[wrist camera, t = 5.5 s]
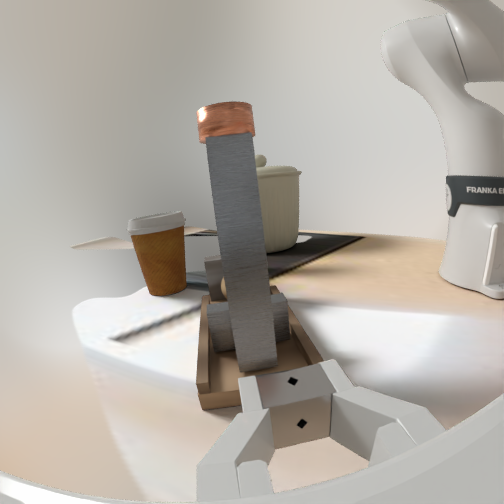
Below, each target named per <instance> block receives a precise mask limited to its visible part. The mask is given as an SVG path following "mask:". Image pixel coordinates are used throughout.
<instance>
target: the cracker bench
mask: <svg viewBox="0 0 504 504" xmlns="http://www.w3.org/2000/svg"><path fill="white" fill-rule="evenodd" d="M204 263H205V269H206V275H207V281H208V287H209V293H210V295H205V296H203V297H202V305H201V317H200V330H199V345H198V360H197V377H196V385H197V388H198V397H199V400H200V404H201V407H202V410H207V409H215V408H224V407H231V406H238V405H242V403H241V396H240V390H239V383H238V378H242V377H248V376H255V375H261V374H267V373H273V372H279V371H285V370H291V369H296V368H301V367H305V366H309V365H314V364H318V363H320V362H323V361H324V360H323V359H322V357H321V356H320V354H319V353H318V351H317V349H316V348H315V346H314V345H313V343H312V342H311V340H310V339H309V337H308V335H307V334H306V332H305V331H304V329H303V328H302V326H301V325H300V323H299V321H298V320H297V318H296V317H295V315H294V314H293V312H292V311H291V309H290V307H289V306H288V315H289V327H290V340H285V341H280V342H276V352H277V362H278V366H276V367H271V368H265V369H260V370H254V371H248V372H242V373H240V371H239V366H238V360H237V354H236V349H233V350H226V351H219V352H214V348H213V344H212V339H211V334H210V329H209V324H208V319H207V313H206V312H207V304H214V303H221V302H228V300H227V294H226V287H225V281H224V274H223V268H222V261H221V255H216V256H209V257H205V261H204ZM279 293H280V292H279V290H278V289H277V287H276V286H270V294H271V295H273V294H279Z"/></svg>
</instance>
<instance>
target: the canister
mask: <svg viewBox="0 0 504 504" xmlns="http://www.w3.org/2000/svg"><path fill="white" fill-rule="evenodd" d="M255 162H256V171H257V179H258V187H259V196H260V204H261V213H262V221H263V230H264V239H265V248H266V253H273V252H279V251H283V250H286V249H289V248H291V247H292V246H293V245H294V244H295V243H296V241H297V237H298V227H299V175H300V174H301V171H297V169H296V168H294V167H291V166H268V167H264V166H265V165H266V158H265V156H263V155H255Z"/></svg>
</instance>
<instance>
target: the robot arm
mask: <svg viewBox="0 0 504 504" xmlns="http://www.w3.org/2000/svg"><path fill="white" fill-rule="evenodd" d="M426 1H430V2H433V3H436V4H438V5H440V6H441V7H443V8H444V9H446V10H447V11H448V12H449V13H446V15H445V14H444V15H438V16H430V17H424V18H418V19H413V20H408V21H405V22H403V23H400V24H398V25H396V26H394V27H392V28H390V29H388V30H386V31H384V33H383V35H382V38H381V44H380V49H381V55H382V58H383V61H384V63H385V65H386V67H387V68H388V70H389V71H390V72H391V73H392V74H393V75H394V76H395V77H396V78H397V79H398V80H399V81H401V82H403V83H404V84H406V85H408V86H410V87H411V88H413V89H414V90H416V91H417V92H418V93H419V94H421V95H422V96H423V97H424V98H425V100H426V101H427V102H428V103H429V105H430V106H431V107H432V109H433V111H434V112H435V114H436V116H437V118H438V121H439V124H440V127H441V130H442V135H443V139H444V144H445V149H446V156H447V164H448V175H454V176H447V177H446V203H447V211H448V214H449V224H448V234H447V240H446V246H445V251H444V255H443V259H442V262H441V265H440V268H439V274H440V275H441V277H443V278H444V279H445V280H447V281H448V282H450V283H453V284H455V285H458V286H461V287H464V288H468V289H472V290H476V291H479V292H481V293H483V294H485V295H487V296H489V297H492V298H496V299H502V298H504V115H503V114H502V113H501V112H499V111H498V110H497V109H495V108H494V107H492V106H490V105H488V104H486V103H484V102H482V101H479V100H477V99H475V98H474V97H472V96H471V95H469V94H468V93H467V92H466V90H465V89H464V85H465V84H466V83H468V81H469V82H486V81H487V82H488V81H489V82H490V81H504V11H503V10H501V9H500V8H498V7H497V6H496V5H494V4H493V3H492V2H491V1H489V0H426ZM457 175H473V176H457ZM497 176H502V177H497ZM238 383H239V390H240V396H241V403H242V409H243V413H238V414H237V415H236V417H235V418H234V419H233V421H232V422H231V423H230V425H229V426H228V427H227V429H226V430H225V431H224V432H223V434H222V435H221V436H220V438H219V439H218V440H217V441H216V443H215V444H214V445H213V446H212V448H211V449H210V450H209V451H208V453H207V454H206V455H205V456H204V457H203V459H202V460H201V461H200V462H199V464H198V465H197V502H146V501H132V500H121V499H113V498H105V497H98V496H92V495H86V494H81V493H75V492H71V491H66V490H62V489H58V488H53V487H49V486H46V485H42V484H39V483H35V482H32V481H29V480H25V479H22V478H19V477H16V476H14V475H11V474H8V473H5V472H2V471H0V504H504V393H503V394H502V395H500V396H499V397H498V398H496V399H495V400H494V401H492V402H491V403H489V404H488V405H486V406H485V407H484V408H482V409H481V410H479V411H478V412H476V413H475V414H473V415H472V416H470V417H468V418H467V419H465V420H464V421H462V422H460V423H459V424H457V425H455V426H454V427H452V428H450V429H449V430H446V429H445V428H444V427H443V426H442V425H441V424H440V423H439V422H438V420H437V419H436V418H435V417H434V416H433V415H432V414H431V413H430V412H429V411H428V410H427V408H426V407H423V406H420V405H417V404H413V403H410V402H407V401H403V400H400V399H397V398H394V397H391V396H388V395H385V394H382V393H379V392H376V391H373V390H370V389H367V388H364V387H361V386H357V387H355V386H354V385H353V384H352V382H351V381H350V380H349V378H348V377H347V375H346V374H345V373H344V371H343V370H342V368H341V367H340V366H339V364H338V363H337V362H336V360H334V359H330V360H327V361H323V362H320V363H318V364H314V365H309V366H305V367H301V368H296V369H291V370H285V371H279V372H273V373H267V374H261V375H255V376H248V377H242V378H238ZM326 437H330V438H332V439H333V440H335V441H336V442H338V443H339V444H341V445H343V446H344V447H346V448H348V449H349V450H351V451H353V452H354V453H356V454H358V455H359V456H361V457H363V458H365V459H366V460H368V461H369V465H368V468H365V469H362V470H360V471H357V472H354V473H351V474H348V475H345V476H342V477H338V478H335V479H332V480H328V481H325V482H321V483H318V484H314V485H310V486H306V487H302V488H297V489H293V490H288V491H283V492H278V493H274V491H273V487H272V483H271V479H270V475H269V471H268V465H269V463H270V461H271V458H272V456H273V454H274V452H275V449H280V448H284V447H288V446H292V445H296V444H300V443H305V442H309V441H313V440H318V439H322V438H326Z"/></svg>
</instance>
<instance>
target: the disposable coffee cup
mask: <svg viewBox="0 0 504 504" xmlns="http://www.w3.org/2000/svg"><path fill="white" fill-rule="evenodd" d="M185 220H186V219H185V218H184V217H183V214H182V212H181V211H175V212H168V213H160V214H155V215H149V216H144V217H140V218H136V219H132V220H129V221H128V229H127V231H128V232H129V235H131V238H132V242H133V245H134V248H135V251H136V254H137V257H138V260H139V264H140V266H141V270H142V272H143V275H144V278H145V281H146V284H147V287H148V290H149V293H150V294H151V295H155V296H164V295H170V294H174V293H177V292H180V291H182V290H183V289H185V288H186V286H187V284H186V268H185V246H184V225H185Z"/></svg>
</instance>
